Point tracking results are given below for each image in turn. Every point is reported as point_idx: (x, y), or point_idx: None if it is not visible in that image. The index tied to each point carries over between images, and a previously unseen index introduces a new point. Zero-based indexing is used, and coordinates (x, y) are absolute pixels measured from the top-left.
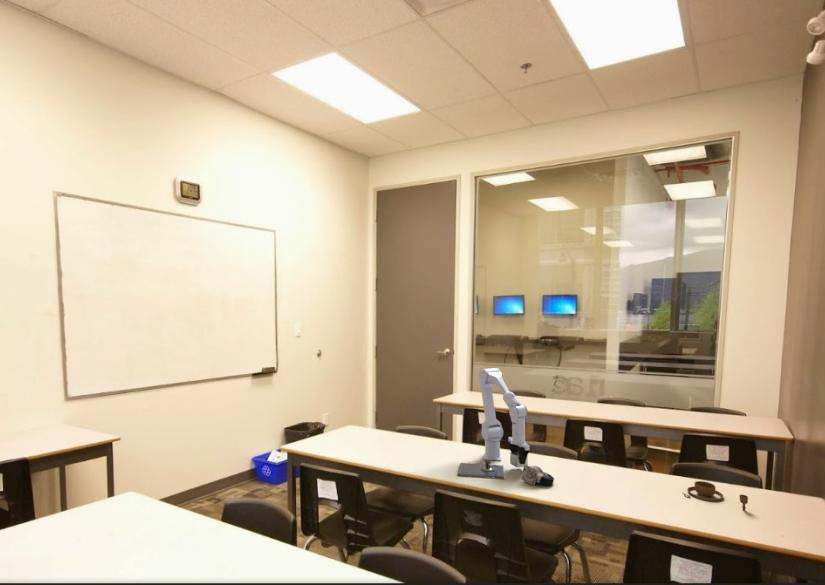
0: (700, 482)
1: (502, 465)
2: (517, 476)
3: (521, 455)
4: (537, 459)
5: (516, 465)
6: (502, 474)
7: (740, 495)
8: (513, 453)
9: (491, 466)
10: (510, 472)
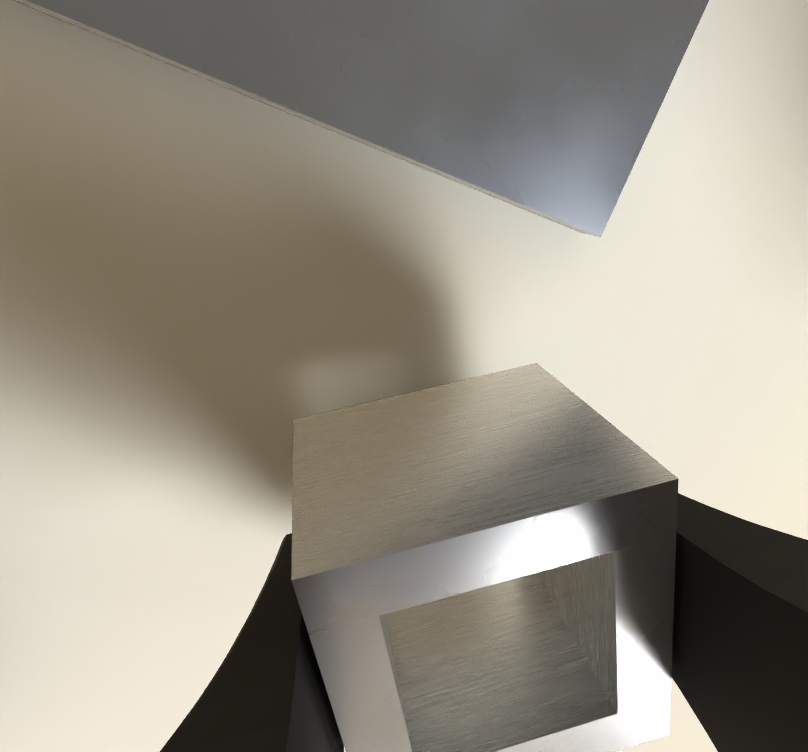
0: None
1: (605, 220)
2: (118, 332)
3: (182, 741)
4: (697, 738)
5: (311, 432)
6: None
7: None
8: (585, 551)
9: None
10: (335, 275)
